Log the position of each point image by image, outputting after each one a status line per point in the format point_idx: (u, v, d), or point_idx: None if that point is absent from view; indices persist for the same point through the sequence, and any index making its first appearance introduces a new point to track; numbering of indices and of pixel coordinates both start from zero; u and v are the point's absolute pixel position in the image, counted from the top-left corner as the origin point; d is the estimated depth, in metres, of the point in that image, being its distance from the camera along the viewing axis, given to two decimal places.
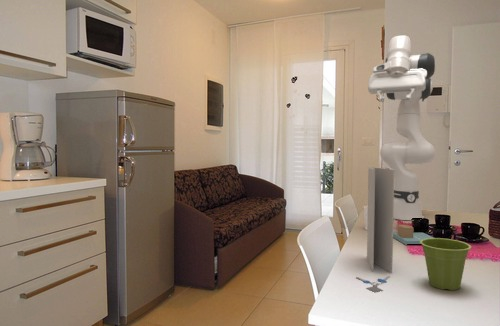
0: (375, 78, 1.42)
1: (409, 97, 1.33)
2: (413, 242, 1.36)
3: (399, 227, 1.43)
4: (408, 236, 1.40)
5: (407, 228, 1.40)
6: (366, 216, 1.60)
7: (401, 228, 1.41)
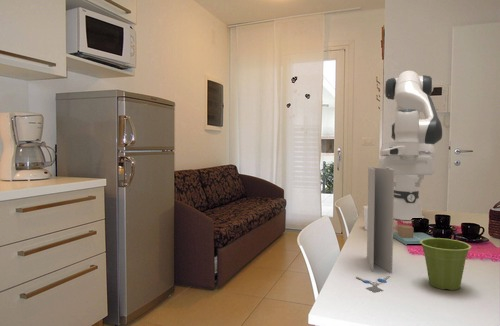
0: (388, 161, 1.39)
1: (419, 185, 1.40)
2: (413, 242, 1.36)
3: (399, 227, 1.43)
4: (408, 236, 1.40)
5: (407, 228, 1.40)
6: (366, 216, 1.60)
7: (401, 228, 1.41)
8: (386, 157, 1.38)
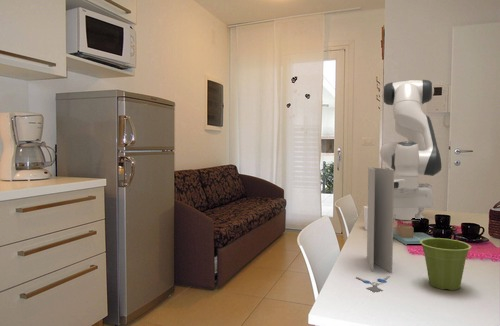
0: None
1: (419, 218, 1.41)
2: (413, 242, 1.36)
3: (399, 227, 1.43)
4: (408, 236, 1.40)
5: (407, 228, 1.40)
6: (366, 216, 1.60)
7: (401, 228, 1.41)
8: None
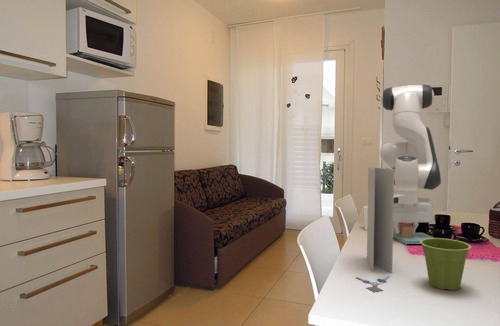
0: None
1: (413, 232, 1.42)
2: (413, 242, 1.36)
3: (399, 227, 1.43)
4: (408, 236, 1.40)
5: (407, 228, 1.40)
6: (366, 216, 1.60)
7: (401, 228, 1.41)
8: None
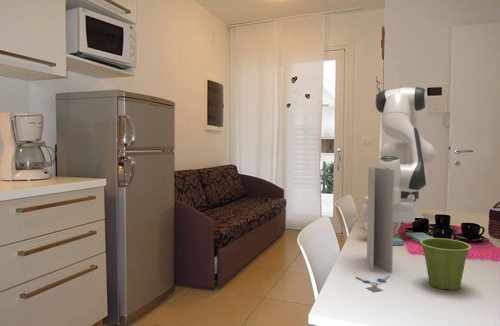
0: None
1: (396, 232, 1.42)
2: (395, 242, 1.36)
3: None
4: None
5: None
6: None
7: None
8: None
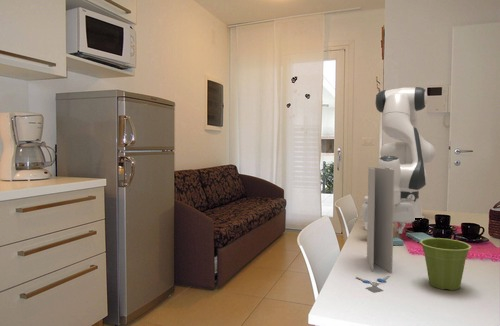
0: None
1: (401, 232, 1.42)
2: (395, 242, 1.36)
3: None
4: None
5: None
6: None
7: None
8: None
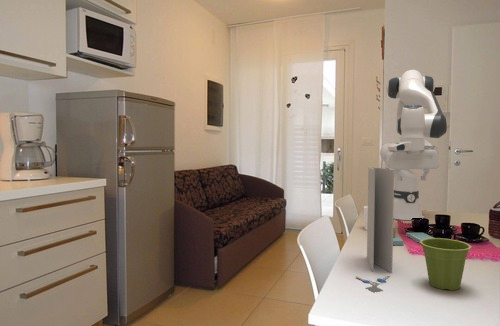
0: (394, 157, 1.44)
1: (425, 179, 1.45)
2: (395, 242, 1.36)
3: None
4: None
5: None
6: (366, 216, 1.60)
7: None
8: (393, 153, 1.43)
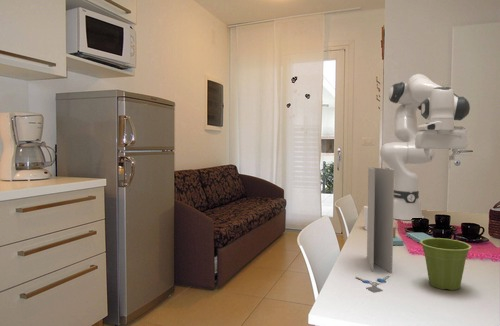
0: (425, 136, 1.48)
1: (453, 159, 1.50)
2: (395, 242, 1.36)
3: None
4: None
5: None
6: (366, 216, 1.60)
7: None
8: (423, 132, 1.47)
